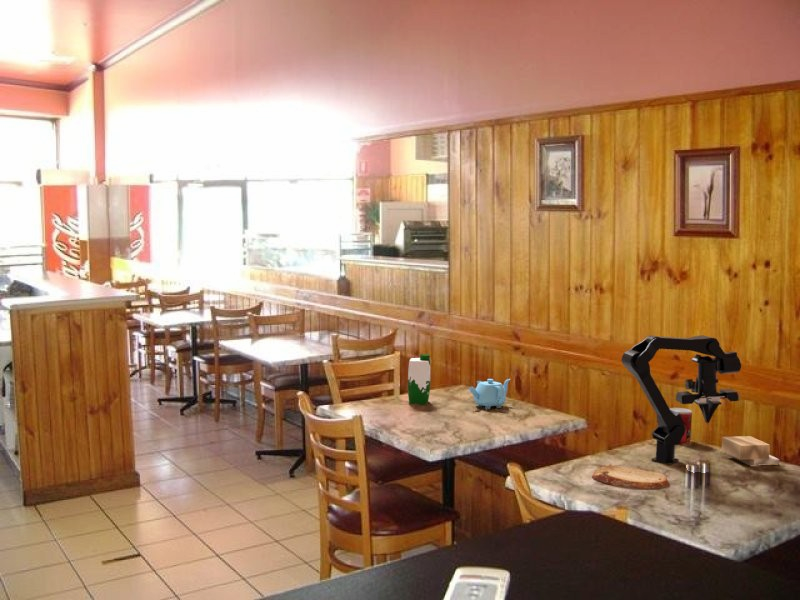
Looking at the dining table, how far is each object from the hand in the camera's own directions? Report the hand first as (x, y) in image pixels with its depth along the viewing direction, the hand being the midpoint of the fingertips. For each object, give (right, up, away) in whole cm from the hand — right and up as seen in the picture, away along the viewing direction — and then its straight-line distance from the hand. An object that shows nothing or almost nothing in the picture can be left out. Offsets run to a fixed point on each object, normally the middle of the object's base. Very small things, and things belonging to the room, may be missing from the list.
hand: (707, 422), depth 278 cm
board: (+15, -12, +1) cm, 20 cm away
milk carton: (-91, -3, +78) cm, 120 cm away
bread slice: (-31, -14, -24) cm, 42 cm away
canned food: (-1, -10, +24) cm, 26 cm away
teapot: (-63, -4, +74) cm, 97 cm away
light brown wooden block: (+7, -8, -1) cm, 11 cm away
